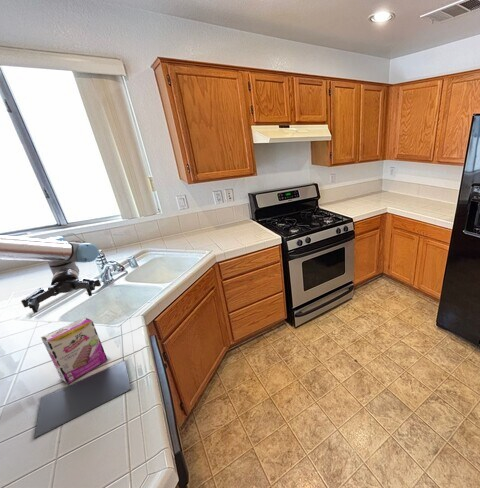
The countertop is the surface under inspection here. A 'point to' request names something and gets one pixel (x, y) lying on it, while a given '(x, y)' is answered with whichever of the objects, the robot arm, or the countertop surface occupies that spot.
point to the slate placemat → (81, 397)
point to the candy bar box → (75, 349)
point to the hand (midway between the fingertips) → (62, 300)
